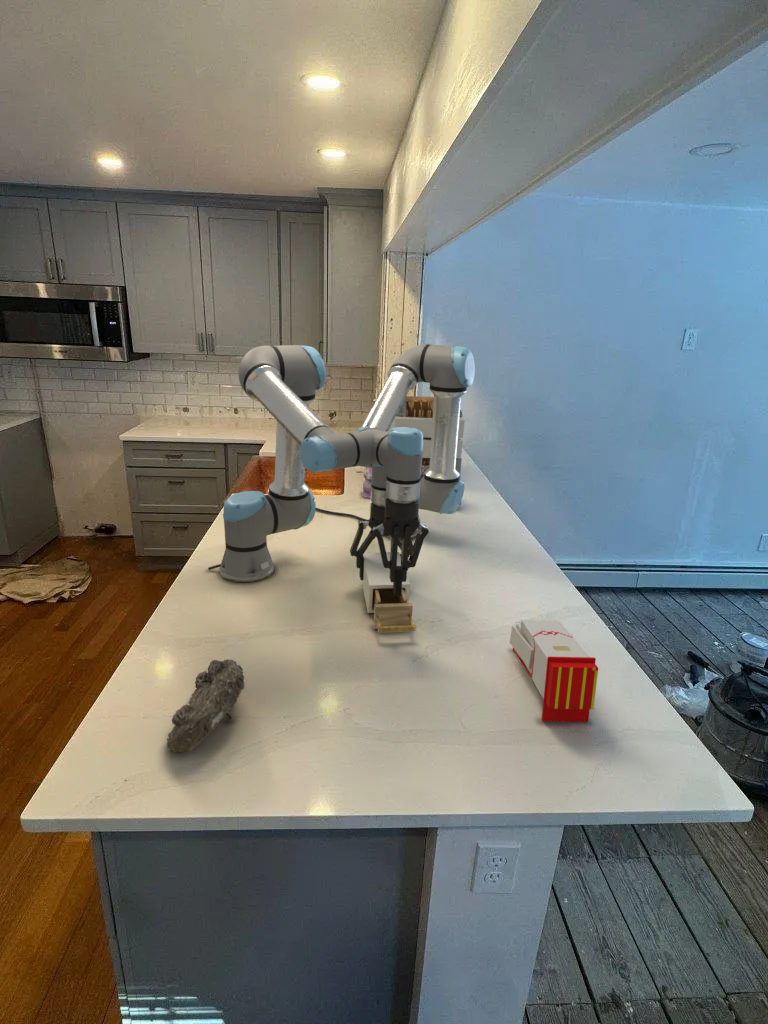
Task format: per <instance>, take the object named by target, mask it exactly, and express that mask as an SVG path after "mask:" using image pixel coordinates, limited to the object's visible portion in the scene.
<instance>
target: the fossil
mask: <svg viewBox="0 0 768 1024" xmlns="http://www.w3.org/2000/svg"><path fill="white" fill-rule="evenodd" d="M243 670H244V669H243V667H242V665H240V664H237V662H236V661H235V660H234V659H232V658H231V659H227V658H226V659H224V660H223V661H222V660H217V659H212V660H211V661H210V663H209V665H208V666H207V671H201V672H199V673H198V674H197V675H196V676H195V680H194V684H195V685H194V687H195V689H194V690H193V693H192V694H191V697H190V698H189V700H188V704H184V705H182V706H181V707H180V709H177V710H176V711H175V713H174V715H173V716H172V718H171V723H172V724H173V727H172V730H171V731H170V732H168V734H167V738H166V741H167V742H166V745H167V749H168V750H169V751H173V752H174V753H176V754H178V753H182V752H188V751H189V752H192V751H193V750H195V748H196V747H197V746H199V744H200V743H201V742H203V741H204V740H205V739H206V738H207V737H208V736H209V735H210V734H211V733H212V732H214V730H215V729H217V727H218V726H219V724H220V722H221V721H222V720H223V719H224V718H225V716H226V717H227V719H229V720H233V717H232V715H230V714H229V710H230V709H231V708H234V706H235V704H236V703H237V702H238V699H239V697H240V695H241V693H242V691H243V690H245V689H244V688H245V675H244V671H243Z"/></svg>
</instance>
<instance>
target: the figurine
mask: <svg viewBox="0 0 768 1024" xmlns="http://www.w3.org/2000/svg"><path fill="white" fill-rule="evenodd" d="M363 477H364V481H363V482H362V493H361V494H362V496H363V498H366V499H371V484H372V468H368V467H365V470H364V472H363Z"/></svg>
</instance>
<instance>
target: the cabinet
mask: <svg viewBox="0 0 768 1024" xmlns="http://www.w3.org/2000/svg"><path fill="white" fill-rule="evenodd" d="M386 554H387V559H388V561H390V551H386ZM400 554H401V552H400V551H397V566H401V556H400ZM363 557H364V575H363V580H360V581H361V587H362V591H363V596H364V601H365V606H366V611H367V614H374V607H373V602H372V599H373V589H379V588H393V582H391V581H390V578H389V576H390V569H389V568H384V566H383V563H382V558H381V554H380V551H379V552H375V551H374V552H364V554H363ZM410 586H411V583H410V580H409V577H408V576H407V579H406V582H402V588H403V589H404V592H405V595H406V599H407V603H409V597H410Z"/></svg>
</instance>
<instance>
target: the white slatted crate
mask: <svg viewBox="0 0 768 1024" xmlns="http://www.w3.org/2000/svg"><path fill="white" fill-rule="evenodd" d="M433 403H434V396H415V395H414V396H413V395H412V396H411V395H407V396H406V398H405V400H404V402H403V404H402V406H401V407H400V409H399V411H398V413H397V415H396V417H395V419H394V421H393V423H392V424H391V426H390V428H389V430H388V433H389V431H390V430H391V429H392V428H395V427H409V428H415V429H418V430H420V431H421V432H422V434H423V449H424V450H423V455H422V467H429V465H430V450H431V434H432V419H433ZM464 429H465V419H464V418H463V411H462V408H461V407H460V418H459V430H458V442H457V454H456V467H455V469H456V471H457V472H458V473H459V481H461V472H462V461H463V460H462V453H463V442H464V441H463V440H462V439H463V438H464V431H465V430H464Z"/></svg>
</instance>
